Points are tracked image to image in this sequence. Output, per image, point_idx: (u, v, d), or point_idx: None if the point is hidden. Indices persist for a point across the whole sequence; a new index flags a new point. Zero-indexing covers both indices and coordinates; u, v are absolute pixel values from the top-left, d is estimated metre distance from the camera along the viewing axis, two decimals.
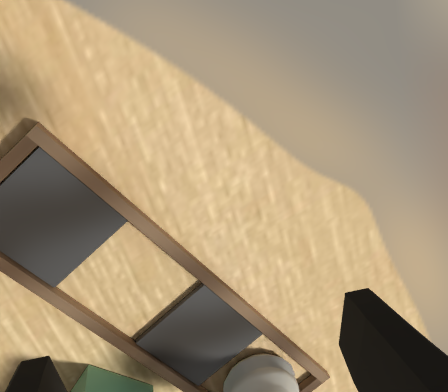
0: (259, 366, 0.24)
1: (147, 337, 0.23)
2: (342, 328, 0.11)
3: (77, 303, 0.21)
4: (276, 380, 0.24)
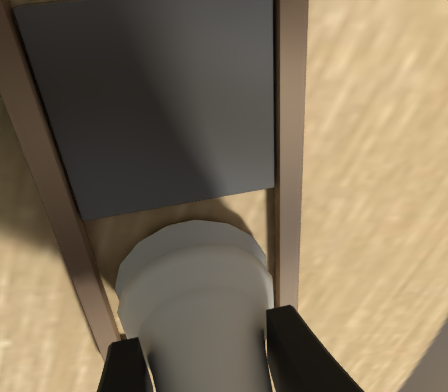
0: (228, 245, 0.11)
1: (53, 16, 0.08)
2: (267, 345, 0.11)
3: None
4: (257, 284, 0.11)
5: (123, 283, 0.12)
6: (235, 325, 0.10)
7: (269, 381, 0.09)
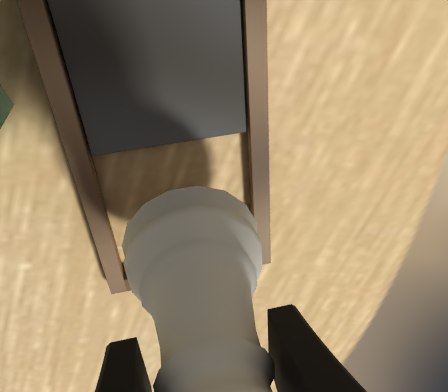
0: None
1: None
2: (269, 344, 0.11)
3: None
4: (247, 242, 0.12)
5: (129, 240, 0.13)
6: (225, 270, 0.11)
7: (253, 318, 0.11)
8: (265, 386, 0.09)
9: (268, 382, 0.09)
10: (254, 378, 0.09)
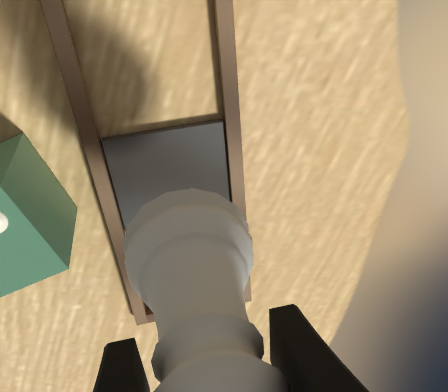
0: None
1: (119, 143, 0.17)
2: (270, 344, 0.11)
3: (72, 40, 0.15)
4: (238, 238, 0.13)
5: None
6: (218, 260, 0.12)
7: (243, 303, 0.12)
8: (253, 354, 0.10)
9: (257, 354, 0.10)
10: (243, 347, 0.10)
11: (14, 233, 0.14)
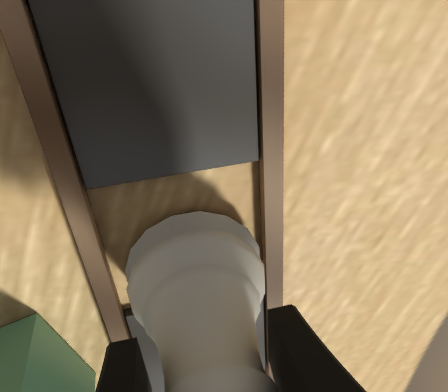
0: None
1: None
2: (269, 344, 0.11)
3: (96, 227, 0.13)
4: (250, 267, 0.12)
5: (132, 266, 0.13)
6: (228, 296, 0.11)
7: (256, 344, 0.11)
8: None
9: None
10: None
11: None
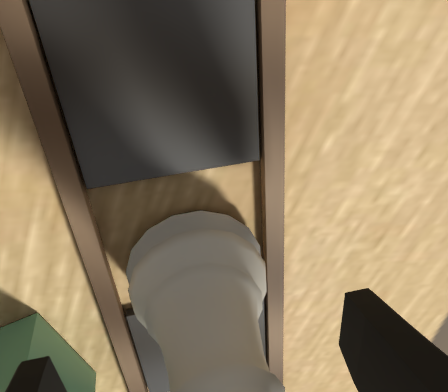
0: None
1: None
2: (342, 328, 0.11)
3: (96, 227, 0.13)
4: (252, 266, 0.12)
5: (133, 266, 0.13)
6: (232, 295, 0.11)
7: (260, 343, 0.11)
8: None
9: None
10: None
11: None
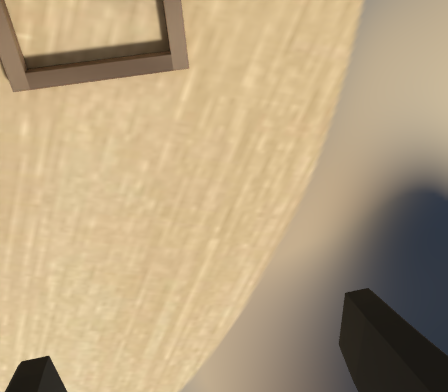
0: None
1: None
2: (342, 328, 0.11)
3: None
4: None
5: None
6: None
7: None
8: None
9: None
10: None
11: None
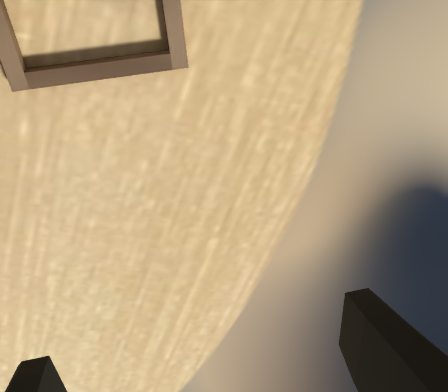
0: None
1: None
2: (342, 328, 0.11)
3: None
4: None
5: None
6: None
7: None
8: None
9: None
10: None
11: None
